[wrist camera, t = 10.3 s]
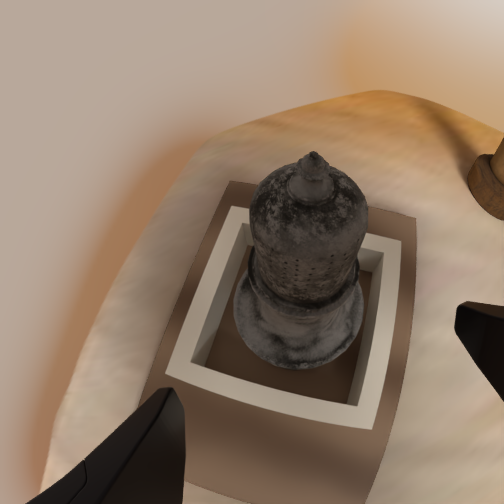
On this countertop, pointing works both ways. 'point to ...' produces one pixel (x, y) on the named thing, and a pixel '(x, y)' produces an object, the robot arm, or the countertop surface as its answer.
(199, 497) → the countertop surface
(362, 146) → the countertop surface
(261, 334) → the salt shaker
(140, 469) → the robot arm
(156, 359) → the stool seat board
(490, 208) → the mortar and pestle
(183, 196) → the countertop surface
